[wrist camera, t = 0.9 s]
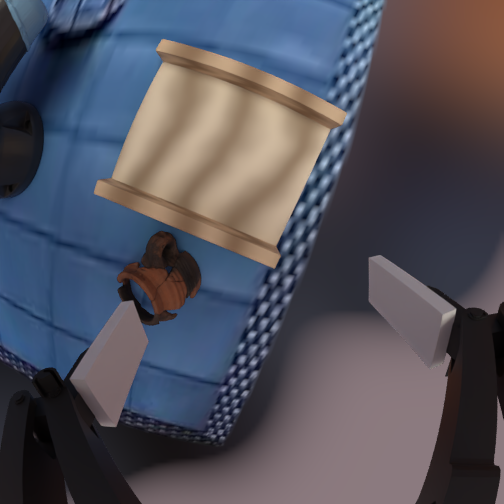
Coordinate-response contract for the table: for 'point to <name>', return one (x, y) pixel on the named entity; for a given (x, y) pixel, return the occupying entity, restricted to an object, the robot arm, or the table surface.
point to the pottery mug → (161, 278)
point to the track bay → (220, 151)
